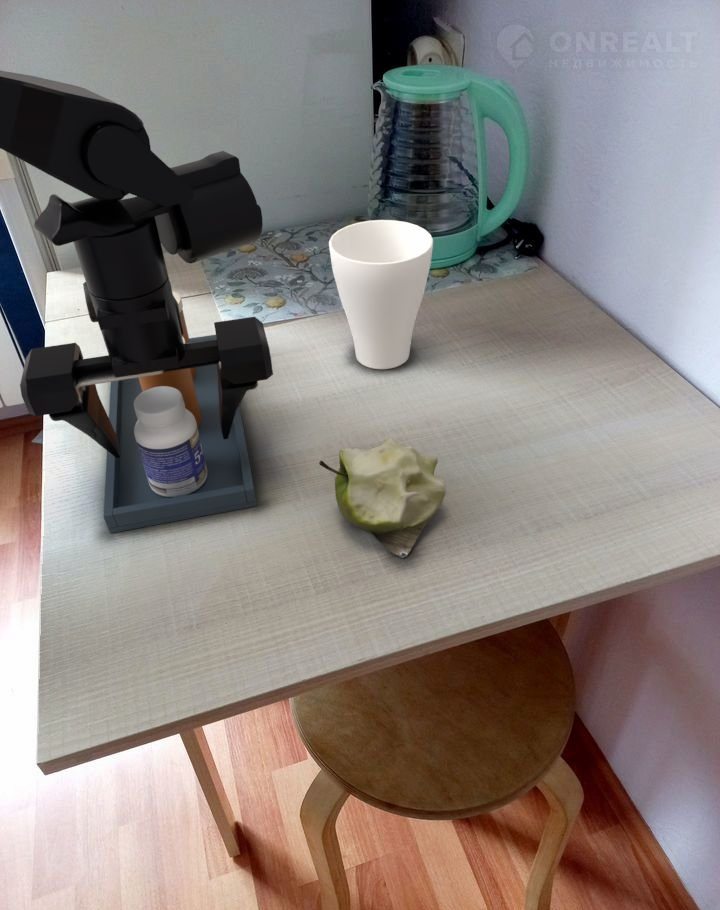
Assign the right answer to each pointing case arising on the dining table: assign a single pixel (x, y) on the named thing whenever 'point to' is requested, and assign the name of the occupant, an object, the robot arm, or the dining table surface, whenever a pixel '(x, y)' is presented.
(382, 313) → the cup
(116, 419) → the tray
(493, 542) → the dining table surface
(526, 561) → the dining table surface
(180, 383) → the amber bottle middle
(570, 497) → the dining table surface
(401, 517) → the fruit
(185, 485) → the pill bottle
